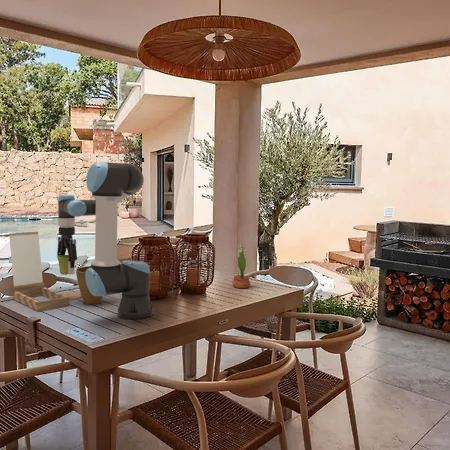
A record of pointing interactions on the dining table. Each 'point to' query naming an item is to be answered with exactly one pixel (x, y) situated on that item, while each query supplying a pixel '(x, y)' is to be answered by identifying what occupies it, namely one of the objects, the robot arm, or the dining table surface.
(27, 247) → the frame lid
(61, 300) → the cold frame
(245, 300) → the dining table surface
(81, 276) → the plant pot
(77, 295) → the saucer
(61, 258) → the plant pot
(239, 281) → the potted flower
